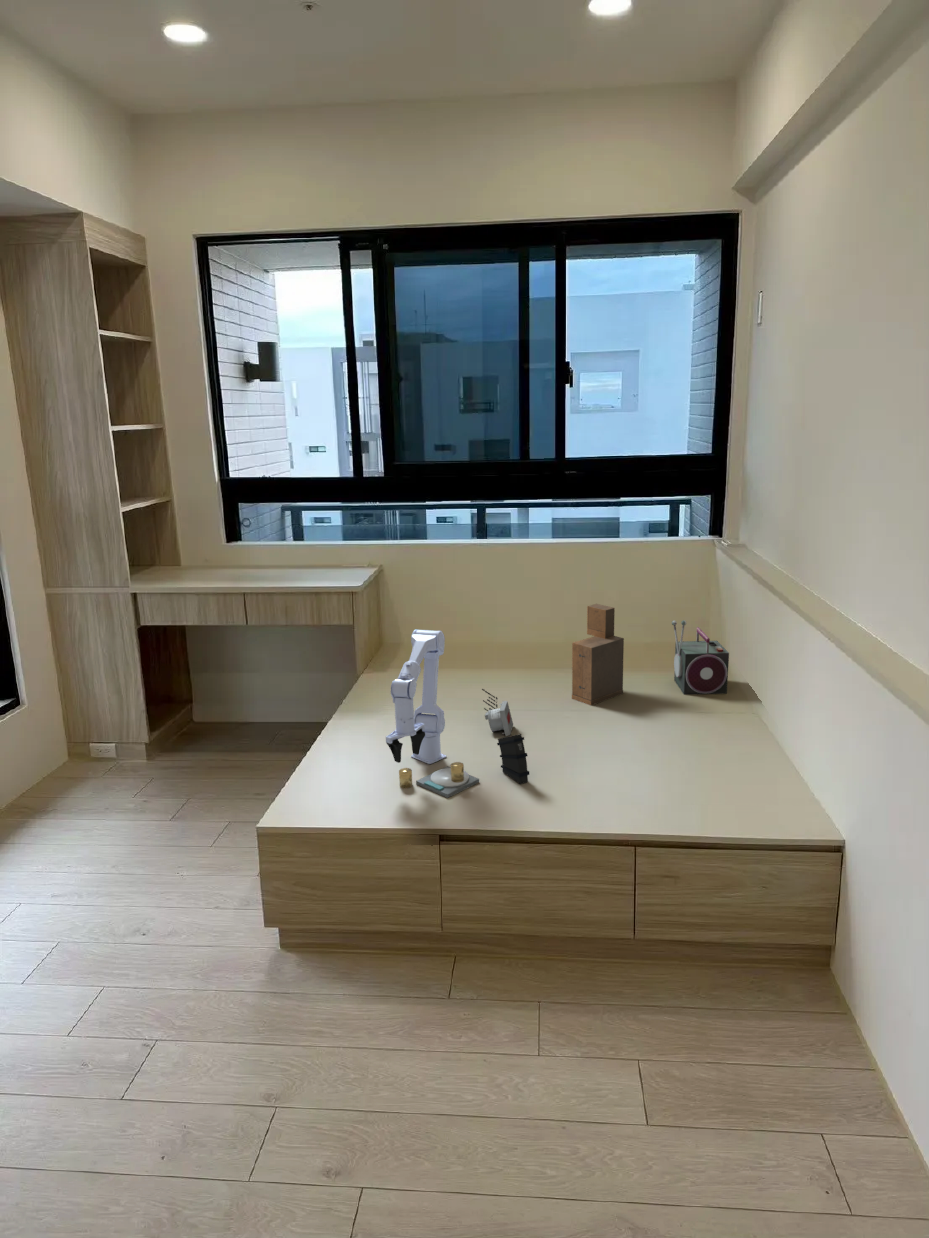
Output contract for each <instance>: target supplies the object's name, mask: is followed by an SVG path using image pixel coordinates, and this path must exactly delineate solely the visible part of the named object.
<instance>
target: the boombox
mask: <svg viewBox="0 0 929 1238" xmlns="http://www.w3.org/2000/svg"><path fill="white" fill-rule="evenodd" d="M677 624H678V622H677V620H672V621H671V625H672V626H673V632H674V636H675V638H674V639H675V647H674V648H675V649H674V650H675V651H674V657H673V666H674V667H673V669H674V677H673V678H674V680H673V681H674V682H675V684H676V685H677V687H678V689H679V690H680V692H681V693H682V694H683V696H684V695H718V694H719V695H722V694H723V695H725V694H728V681H729V663H730V662H729V659H730V658H729V657H730V652H729V651H728V649H726V648H725V647H724V646H723V645H722V644H721V643H720V642H719V641H718V640H710V637H709V636H708V635H707V634H706V633H705V632H704V631H703V630H702V629H701V628H700V627H698V626H697V627H696V640H689V641H688V640H687V641H685V640H684V641H683V638H684V632H685V631H684V630H685V626H686V625H687V621H686V620H684V619H683V620H681V622H680V624H681V625H682V626H681V633H680V641H679V639H678V634H677V633H678V632H677V626H676V625H677ZM700 637H701V638H702V639H703V640H699V639H700Z"/></svg>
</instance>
